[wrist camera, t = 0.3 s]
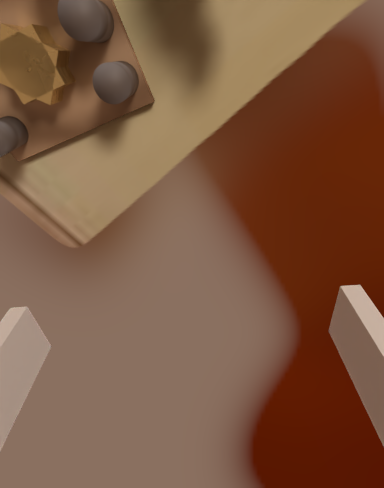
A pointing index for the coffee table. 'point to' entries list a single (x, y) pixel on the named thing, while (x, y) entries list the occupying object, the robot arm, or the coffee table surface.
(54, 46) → the star-shaped block
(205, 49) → the coffee table surface
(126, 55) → the board
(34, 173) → the coffee table surface
